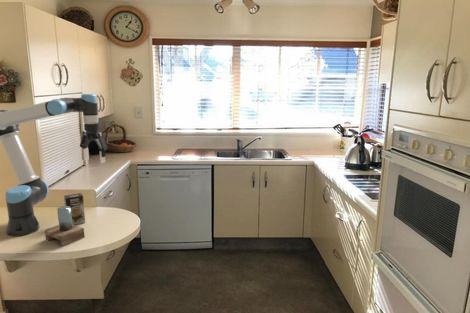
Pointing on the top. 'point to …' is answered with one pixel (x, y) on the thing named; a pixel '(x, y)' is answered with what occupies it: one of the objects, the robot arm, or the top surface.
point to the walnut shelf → (65, 235)
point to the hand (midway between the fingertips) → (94, 161)
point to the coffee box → (76, 207)
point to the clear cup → (65, 218)
